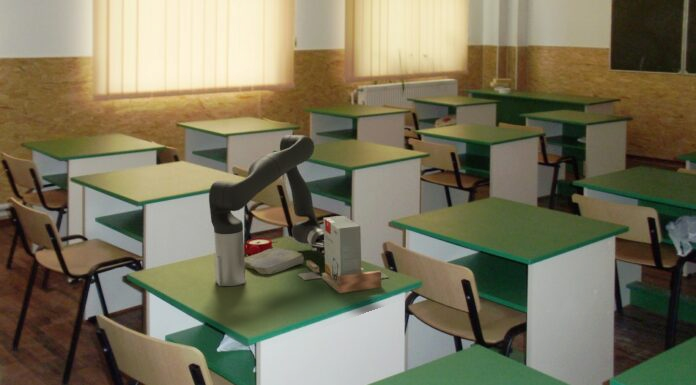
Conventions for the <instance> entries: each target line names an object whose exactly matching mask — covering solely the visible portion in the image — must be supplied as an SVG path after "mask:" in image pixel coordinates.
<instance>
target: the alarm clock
mask: <svg viewBox="0 0 696 385" xmlns="http://www.w3.org/2000/svg"><path fill="white" fill-rule="evenodd" d="M274 243H278V241H272V239H270V238H267V237H266V238H265V237H256V238H252V239H248V240H247V241H246V244H245V243H244V255H249V256H252V255H255V254H258V253H261V252H263V251H265V250H268V249H273V248H274V247H273V245H272V244H274Z"/></svg>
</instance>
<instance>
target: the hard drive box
mask: <svg viewBox="0 0 696 385" xmlns="http://www.w3.org/2000/svg"><path fill="white" fill-rule="evenodd" d="M322 221H323V230H324V249H325V254H324V273H327V274H328V275H330V276H331V277H332V278H333V279H335V280H336V281H337V282H338V279H337V276H343V275H350V274H357V273H361V268H362V241H361V240H362V237H361V234H362V233H361V225H360V224H357V223H356V222H354V221H353V220H352V219H351V218H348V216H346V215H336V216H329V217H323V220H322Z"/></svg>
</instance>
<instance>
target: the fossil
mask: <svg viewBox="0 0 696 385" xmlns="http://www.w3.org/2000/svg"><path fill="white" fill-rule="evenodd" d="M244 258H245V268H249V269H253V270H255V271H256V272H257V273H259V274H261V275H272V274H275V273H279V272H282V271H285V270H287V269H290V268H292V267H295V266H298V265H302V264H303V262H304V259H305V258H304V255H303V253H301V252H298V251H295V250H290V249H286V248H282V247H281V248H279V247H273V249H268V250H265V251H263V252H261V253H258V254H255V255H252V256H251V255H249V256H247V257H244Z"/></svg>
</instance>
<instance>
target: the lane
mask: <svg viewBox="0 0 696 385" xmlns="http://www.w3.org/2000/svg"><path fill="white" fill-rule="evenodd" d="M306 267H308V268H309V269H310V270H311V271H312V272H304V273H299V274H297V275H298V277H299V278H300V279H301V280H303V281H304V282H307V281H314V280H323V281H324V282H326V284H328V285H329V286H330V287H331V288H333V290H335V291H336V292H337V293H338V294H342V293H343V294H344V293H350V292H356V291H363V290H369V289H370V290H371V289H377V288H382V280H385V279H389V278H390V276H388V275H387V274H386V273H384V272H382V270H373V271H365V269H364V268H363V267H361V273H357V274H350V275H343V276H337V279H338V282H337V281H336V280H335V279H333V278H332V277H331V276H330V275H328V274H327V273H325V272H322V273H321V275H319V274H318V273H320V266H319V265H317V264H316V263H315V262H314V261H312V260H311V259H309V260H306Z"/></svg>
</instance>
